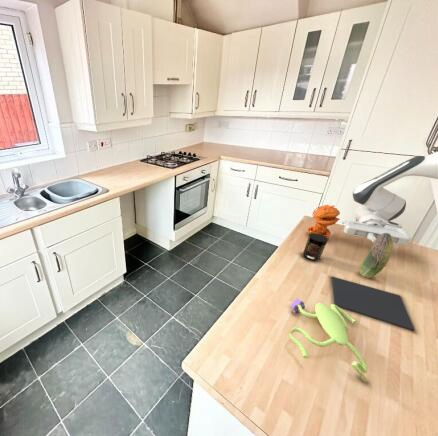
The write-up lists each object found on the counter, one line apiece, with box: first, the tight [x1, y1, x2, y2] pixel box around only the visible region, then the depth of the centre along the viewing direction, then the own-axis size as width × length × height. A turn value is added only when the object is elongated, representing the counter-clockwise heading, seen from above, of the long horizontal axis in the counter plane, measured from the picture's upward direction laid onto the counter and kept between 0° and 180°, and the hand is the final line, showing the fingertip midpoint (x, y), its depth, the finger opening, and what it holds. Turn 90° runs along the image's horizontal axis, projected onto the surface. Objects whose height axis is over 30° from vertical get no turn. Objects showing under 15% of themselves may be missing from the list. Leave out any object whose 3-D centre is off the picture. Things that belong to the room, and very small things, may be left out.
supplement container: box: [302, 233, 329, 262], centre depth 104 cm, size 7×7×10 cm
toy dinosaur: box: [306, 204, 341, 240], centre depth 116 cm, size 11×11×18 cm
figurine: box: [289, 298, 368, 383], centre depth 72 cm, size 18×27×6 cm
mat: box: [331, 276, 415, 332], centre depth 84 cm, size 20×16×1 cm
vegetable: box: [359, 233, 394, 279], centre depth 90 cm, size 6×6×20 cm
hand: (378, 242), depth 94 cm, fingers closed
